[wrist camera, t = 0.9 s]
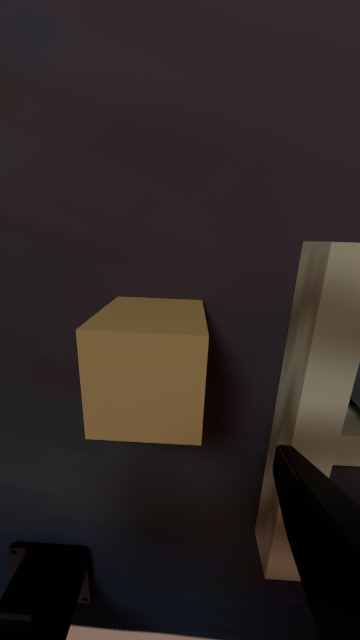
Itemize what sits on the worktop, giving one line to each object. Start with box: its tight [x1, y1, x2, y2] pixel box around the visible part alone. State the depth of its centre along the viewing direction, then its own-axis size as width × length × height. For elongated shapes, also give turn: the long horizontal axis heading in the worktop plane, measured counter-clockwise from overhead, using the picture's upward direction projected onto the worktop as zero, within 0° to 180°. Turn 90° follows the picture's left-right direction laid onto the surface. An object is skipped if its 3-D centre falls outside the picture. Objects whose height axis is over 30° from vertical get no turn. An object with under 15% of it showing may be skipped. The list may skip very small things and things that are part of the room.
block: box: [76, 297, 209, 446], centre depth 13 cm, size 5×5×6 cm
